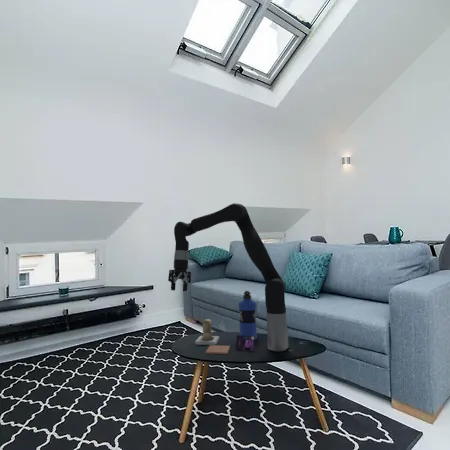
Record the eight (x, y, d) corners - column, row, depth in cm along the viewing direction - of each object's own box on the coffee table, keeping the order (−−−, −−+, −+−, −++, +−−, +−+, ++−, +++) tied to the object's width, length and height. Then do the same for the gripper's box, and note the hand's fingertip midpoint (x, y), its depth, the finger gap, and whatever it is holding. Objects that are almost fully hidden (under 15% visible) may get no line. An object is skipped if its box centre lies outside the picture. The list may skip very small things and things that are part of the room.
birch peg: (208, 339, 178) (207, 318, 178) (213, 341, 174) (213, 320, 175) (201, 341, 175) (201, 320, 175) (206, 343, 171) (206, 321, 172)
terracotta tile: (210, 346, 166) (210, 345, 166) (230, 347, 164) (230, 345, 164) (205, 353, 156) (205, 351, 156) (226, 354, 154) (226, 352, 154)
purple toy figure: (236, 335, 162) (254, 336, 159) (239, 335, 167) (256, 337, 164) (235, 349, 160) (253, 351, 157) (238, 350, 164) (256, 351, 161)
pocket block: (200, 338, 180) (200, 335, 181) (219, 339, 179) (219, 336, 179) (195, 344, 170) (195, 341, 170) (215, 345, 168) (215, 342, 168)
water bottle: (256, 335, 183) (254, 289, 184) (258, 340, 174) (256, 292, 175) (239, 336, 183) (237, 290, 184) (240, 341, 174) (238, 292, 175)
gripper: (176, 257, 169) (174, 290, 166) (195, 260, 180) (193, 291, 177) (166, 258, 173) (163, 290, 170) (185, 261, 185) (183, 291, 181)
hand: (179, 290), depth 173 cm, fingers open, 8 cm apart
